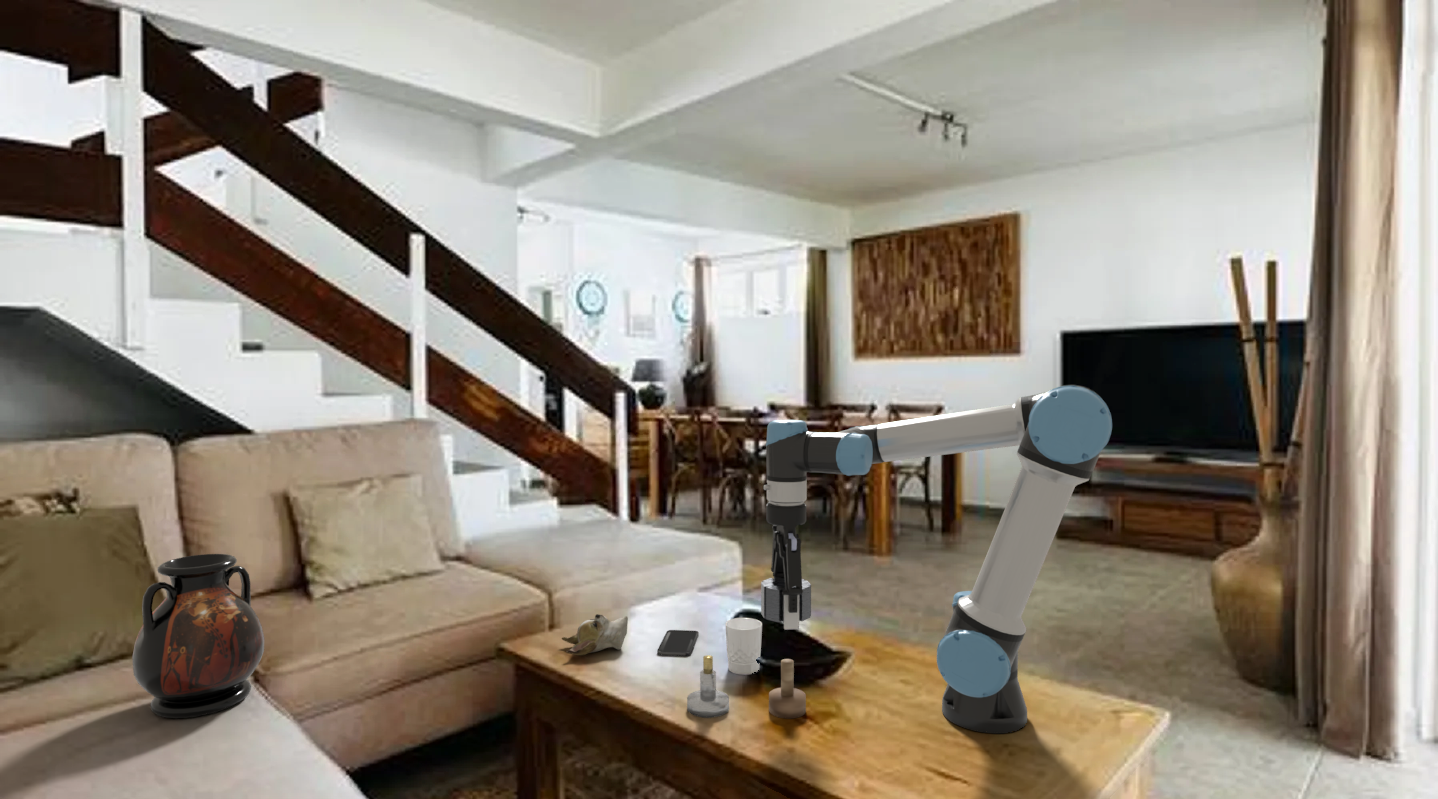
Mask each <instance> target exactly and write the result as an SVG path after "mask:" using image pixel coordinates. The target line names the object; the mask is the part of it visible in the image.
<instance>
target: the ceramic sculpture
mask: <svg viewBox="0 0 1438 799" xmlns="http://www.w3.org/2000/svg"><path fill="white" fill-rule="evenodd" d="M628 621H629V617H628V616H624V617H619V618H617V619H615V620H610V619H608V617H607V616H605V615H603V614H599V613H598V614H595V615H594V618H592V619H586V620H583V622H582V623H581V624H579V626H578V628H577V633H576V634H573V635H571V636H570V637H568V636H567V637H566V636H563V637H561V640H562V641H564V642H566V643H568V644H571V645H573V646H572V647H571V648H570V649H568V650H566V654H570V655H576V656H585V655H587V654H590V653H597V652H600V651H603V650H604V649H607V648H608V649H609V648H614V649H615V650H617V651H618V650H621V648H622V647H623V644H624V641H625V639H626V637H627V634H628Z"/></svg>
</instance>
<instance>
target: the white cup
mask: <svg viewBox="0 0 1438 799" xmlns="http://www.w3.org/2000/svg"><path fill="white" fill-rule="evenodd" d="M762 632H763V622H762V621H760V620H758V619H756V618H752V617H735V618H731V619H729V620H727V621H726V622H725V639H726V640H725V641H726V656H727V663H728V664H727V666H728V670H729V672H730V673H732V674H735V675H741V676H742V675H743V676H744V675H745V676H747V675H752V673H753V674H755V673H754V672H756V673H758V672H759V671H760V663H759V664H758V663H757V661H756V659H757V658H758V657H760V658H761V651H762V649H761V648H762V636H763V635H762V634H763V633H762ZM758 670H759V671H758Z"/></svg>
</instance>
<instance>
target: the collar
mask: <svg viewBox="0 0 1438 799" xmlns="http://www.w3.org/2000/svg"><path fill="white" fill-rule="evenodd" d="M802 589H803V593H802V594H800V595H799V622H805V621H806V620H808V619H810V618H811V617H812V583H811V582H809V581H808V580H806V579H804V578H802ZM783 591H785V579H784V577H769V578H766V579H763V580H762V581H761V582H760V614H761V615H762V617H763V619H765V620H767V621H772V622H775V623H781V622H782V624H784V595H782V592H783Z"/></svg>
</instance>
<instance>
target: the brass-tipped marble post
mask: <svg viewBox="0 0 1438 799" xmlns="http://www.w3.org/2000/svg"><path fill="white" fill-rule="evenodd" d="M713 657H714V656H712V655H710V654H709V655H708V654H707V655H703V657H702V658H703V659H702V660H703V662H702V663H703V665H702V667H703V669H702V670H700V672H699V675H700V676H699V677H700V678H699V681H700V682H699V685H700V686H699V687H700V688H699V690H695V691H692V692H691V693H689V694H688V695H687V697H686V705H687V706H686V709H687V712H688V713H689V714H691V715H693V716H695V717H698V718H704V719H705V718H707V719H709V718H710V719H711V718H718V717H720V716H721V717H722V716H724V715H726V714H727V713H728V712H729V710H730V697H729V695H728V694H727V693H726V692H724V691H721V690H718V689H717V671H716V670H714V668H713V667H714V658H713Z"/></svg>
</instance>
